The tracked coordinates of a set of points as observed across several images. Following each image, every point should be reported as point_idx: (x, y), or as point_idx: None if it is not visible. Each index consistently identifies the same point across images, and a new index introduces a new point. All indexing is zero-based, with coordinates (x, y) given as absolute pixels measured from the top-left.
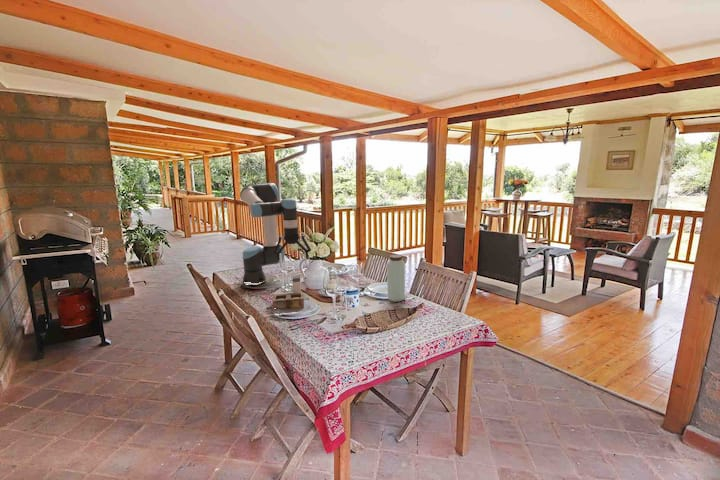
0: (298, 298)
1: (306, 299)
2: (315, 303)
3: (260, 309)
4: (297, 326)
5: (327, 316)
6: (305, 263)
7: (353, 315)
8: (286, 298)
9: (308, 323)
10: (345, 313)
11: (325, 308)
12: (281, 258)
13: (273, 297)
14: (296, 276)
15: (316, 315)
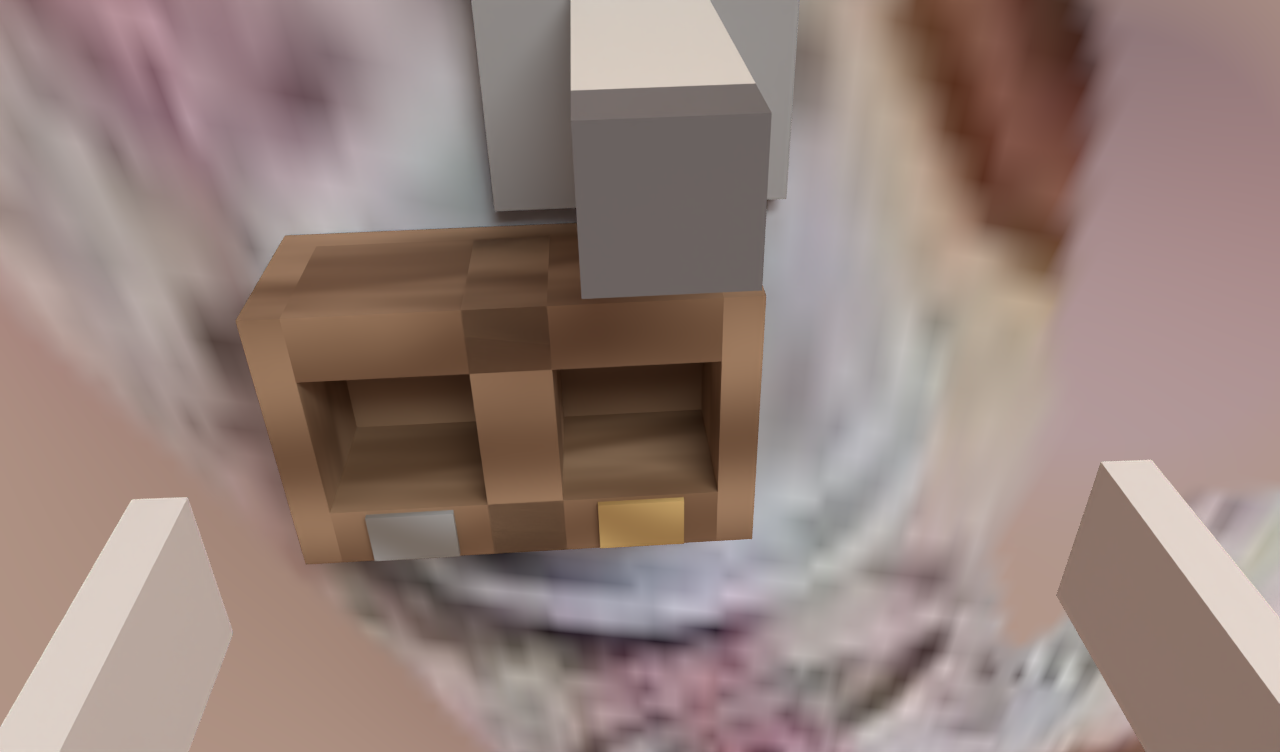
0: (682, 537)
1: (785, 190)
2: (899, 286)
3: (118, 362)
4: (657, 747)
5: (960, 621)
6: (1088, 618)
7: None
8: (498, 502)
9: (758, 714)
10: None
11: (991, 452)
12: (79, 723)
13: (271, 441)
14: (674, 133)
15: (855, 592)
